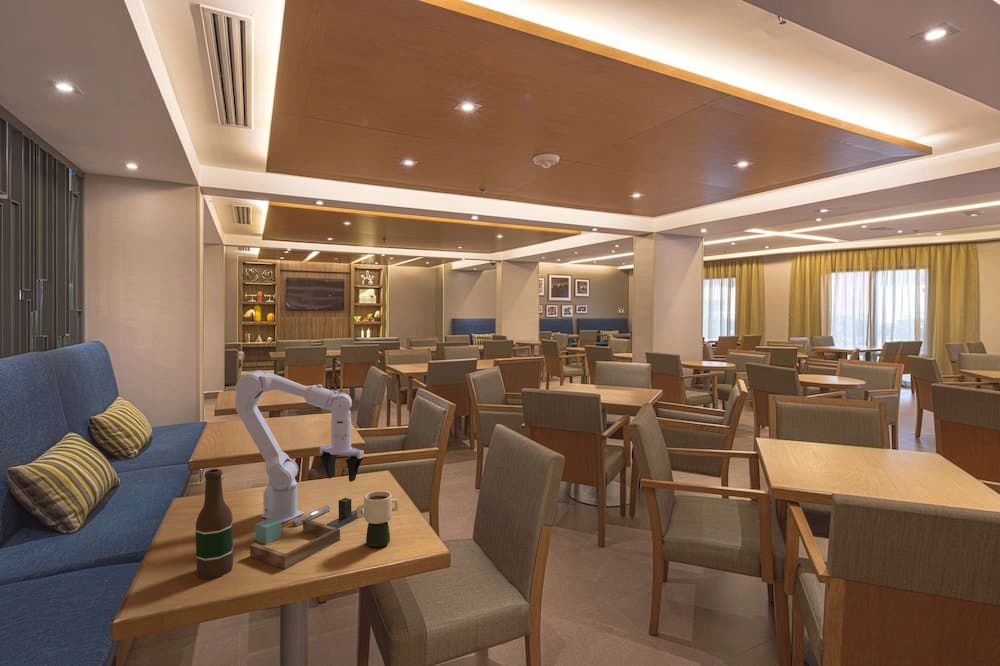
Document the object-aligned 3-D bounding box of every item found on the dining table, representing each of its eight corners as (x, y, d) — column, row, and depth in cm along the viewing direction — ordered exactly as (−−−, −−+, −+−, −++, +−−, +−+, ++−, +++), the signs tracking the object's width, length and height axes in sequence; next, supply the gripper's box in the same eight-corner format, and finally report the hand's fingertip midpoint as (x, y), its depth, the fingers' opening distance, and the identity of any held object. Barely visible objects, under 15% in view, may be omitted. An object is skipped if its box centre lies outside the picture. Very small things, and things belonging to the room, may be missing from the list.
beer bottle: (209, 562, 124) (206, 465, 123) (240, 563, 124) (238, 465, 123) (188, 579, 116) (186, 475, 115) (222, 580, 116) (220, 476, 115)
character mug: (394, 534, 140) (394, 487, 139) (402, 544, 134) (402, 496, 133) (353, 542, 135) (353, 494, 134) (360, 554, 129) (360, 503, 128)
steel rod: (297, 527, 144) (297, 520, 144) (292, 525, 145) (292, 519, 145) (329, 512, 155) (329, 505, 155) (325, 511, 156) (325, 504, 156)
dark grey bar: (325, 530, 142) (325, 506, 142) (356, 515, 153) (356, 492, 152) (332, 532, 141) (332, 508, 141) (363, 517, 152) (363, 493, 151)
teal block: (255, 540, 136) (254, 524, 136) (269, 533, 140) (269, 517, 140) (266, 544, 134) (266, 527, 133) (281, 537, 138) (280, 521, 137)
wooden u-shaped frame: (250, 556, 127) (249, 544, 127) (306, 529, 142) (306, 519, 142) (285, 569, 121) (284, 557, 121) (340, 540, 136) (339, 529, 136)
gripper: (312, 435, 151) (312, 480, 152) (353, 440, 146) (353, 486, 147) (328, 429, 158) (328, 472, 159) (367, 434, 153) (368, 478, 154)
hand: (341, 479), depth 153 cm, fingers open, 7 cm apart
